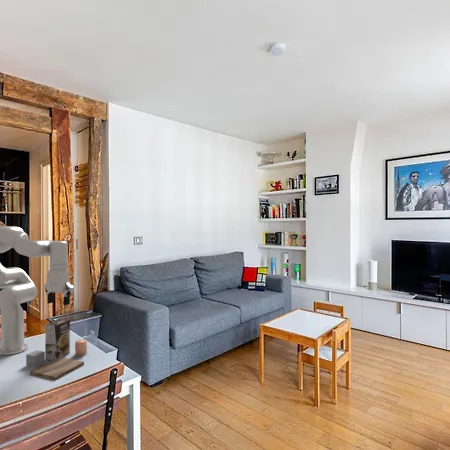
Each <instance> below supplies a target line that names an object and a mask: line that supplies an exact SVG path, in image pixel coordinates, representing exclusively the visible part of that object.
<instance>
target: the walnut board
mask: <svg viewBox="0 0 450 450" xmlns="http://www.w3.org/2000/svg"><path fill="white" fill-rule="evenodd" d="M83 365H85V362H84V361H82V360H77V359H72V358H66V357H59V358H57V359H55V360H50V361H48V362H47V363H43V364H41V365H39V366H37V367H35V368H34V369H31V370H29V375H32V376H36V377H41V378H46V379H50V380H53V381H56V380H58V379H59V378H62V377H64V376H66V375H68V374H69V373H71V372H73V371H75V370H76V369H78V368H80V367H82V366H83Z"/></svg>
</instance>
